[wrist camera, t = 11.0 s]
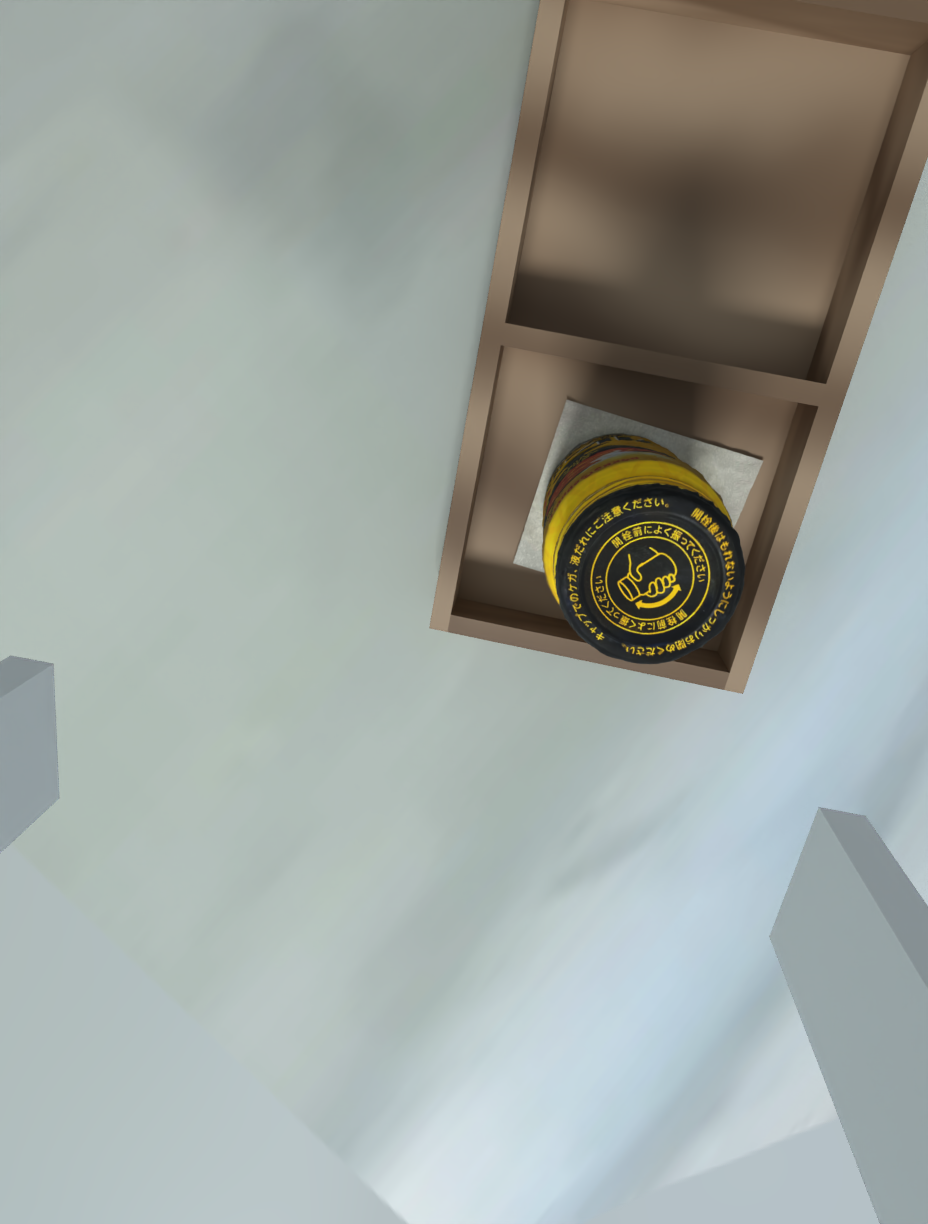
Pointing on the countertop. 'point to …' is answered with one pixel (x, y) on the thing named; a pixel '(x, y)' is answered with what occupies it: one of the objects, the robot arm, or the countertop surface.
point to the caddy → (685, 272)
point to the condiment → (638, 534)
